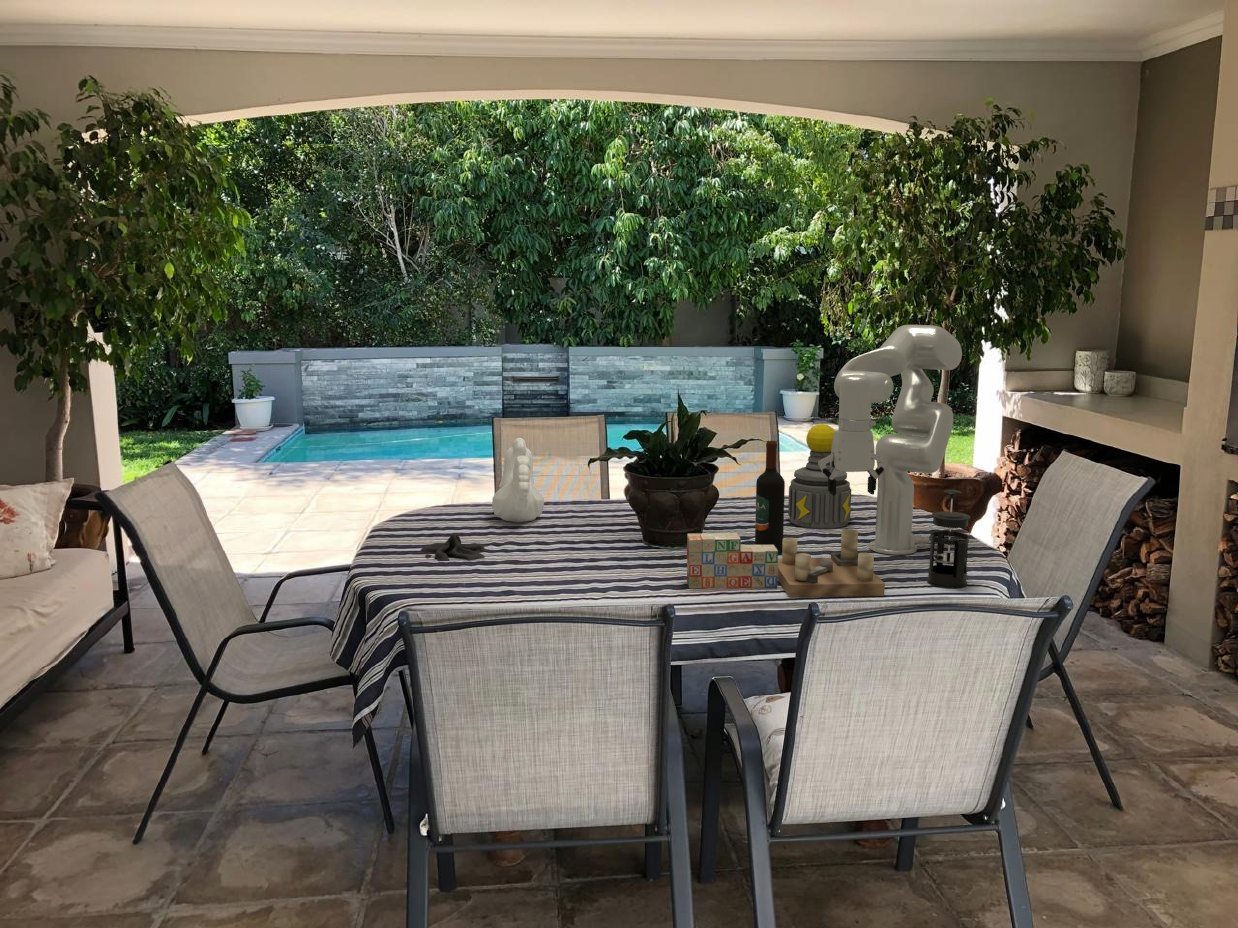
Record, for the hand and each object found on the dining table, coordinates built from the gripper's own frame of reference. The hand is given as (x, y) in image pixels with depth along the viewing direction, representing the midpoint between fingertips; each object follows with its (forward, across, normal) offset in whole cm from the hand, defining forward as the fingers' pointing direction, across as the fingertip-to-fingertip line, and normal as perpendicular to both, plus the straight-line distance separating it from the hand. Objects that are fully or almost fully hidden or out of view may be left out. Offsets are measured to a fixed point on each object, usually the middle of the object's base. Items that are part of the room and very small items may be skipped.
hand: (851, 493), depth 262 cm
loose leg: (+17, 0, +1) cm, 17 cm away
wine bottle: (+21, +15, -23) cm, 34 cm away
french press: (+21, -21, +11) cm, 32 cm away
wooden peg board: (+20, +8, +8) cm, 23 cm away
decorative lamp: (+21, -7, -54) cm, 58 cm away
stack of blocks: (+20, +31, +7) cm, 38 cm away
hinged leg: (+17, +12, +11) cm, 24 cm away
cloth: (+21, +100, -26) cm, 106 cm away
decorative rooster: (+20, +84, -62) cm, 106 cm away
